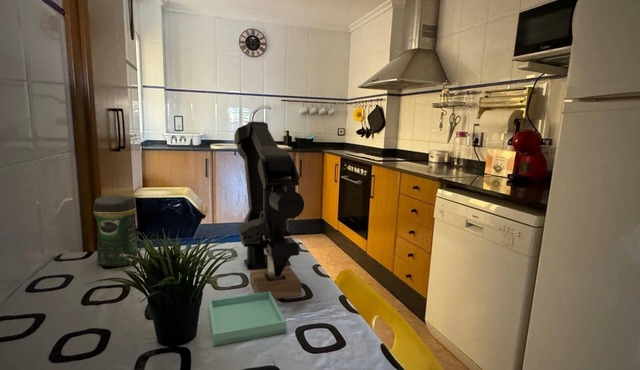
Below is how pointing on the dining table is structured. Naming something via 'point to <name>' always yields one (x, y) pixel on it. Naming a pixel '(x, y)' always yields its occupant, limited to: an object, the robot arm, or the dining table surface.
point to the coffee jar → (115, 229)
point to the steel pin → (271, 268)
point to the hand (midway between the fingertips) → (275, 272)
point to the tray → (245, 318)
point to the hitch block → (276, 283)
